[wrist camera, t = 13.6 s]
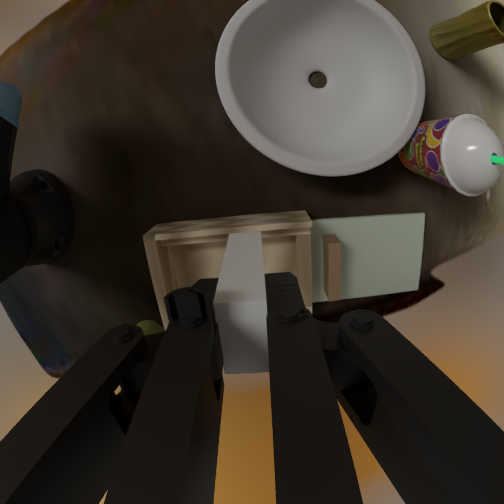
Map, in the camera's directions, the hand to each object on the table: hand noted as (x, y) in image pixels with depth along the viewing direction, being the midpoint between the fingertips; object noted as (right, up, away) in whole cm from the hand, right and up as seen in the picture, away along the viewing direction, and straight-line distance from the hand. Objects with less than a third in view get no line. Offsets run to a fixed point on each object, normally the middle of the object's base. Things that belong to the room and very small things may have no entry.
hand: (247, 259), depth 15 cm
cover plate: (+17, 0, +27) cm, 32 cm away
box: (-2, -2, +28) cm, 28 cm away
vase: (+29, +31, +15) cm, 45 cm away
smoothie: (+22, +15, +21) cm, 34 cm away
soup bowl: (+8, +22, +19) cm, 30 cm away
